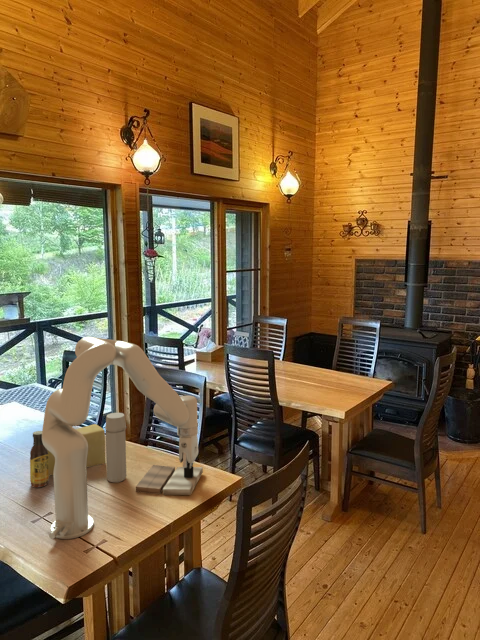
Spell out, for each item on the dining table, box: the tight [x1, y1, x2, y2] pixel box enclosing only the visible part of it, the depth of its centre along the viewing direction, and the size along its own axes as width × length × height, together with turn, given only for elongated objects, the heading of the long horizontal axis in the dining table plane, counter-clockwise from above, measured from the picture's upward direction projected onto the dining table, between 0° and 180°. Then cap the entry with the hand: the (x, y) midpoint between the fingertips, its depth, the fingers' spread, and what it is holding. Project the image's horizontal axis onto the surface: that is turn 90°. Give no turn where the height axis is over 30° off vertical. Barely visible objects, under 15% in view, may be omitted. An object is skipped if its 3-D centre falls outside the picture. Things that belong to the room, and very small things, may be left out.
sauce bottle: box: [29, 430, 50, 489], centre depth 174 cm, size 6×6×20 cm
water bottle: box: [104, 412, 127, 483], centre depth 180 cm, size 9×8×25 cm
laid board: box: [135, 464, 176, 495], centre depth 179 cm, size 18×9×2 cm, turn 170°
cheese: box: [48, 423, 106, 476], centre depth 189 cm, size 22×10×15 cm, turn 130°
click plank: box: [162, 466, 204, 496], centre depth 177 cm, size 18×10×2 cm, turn 170°
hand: (188, 476), depth 177 cm, fingers closed
